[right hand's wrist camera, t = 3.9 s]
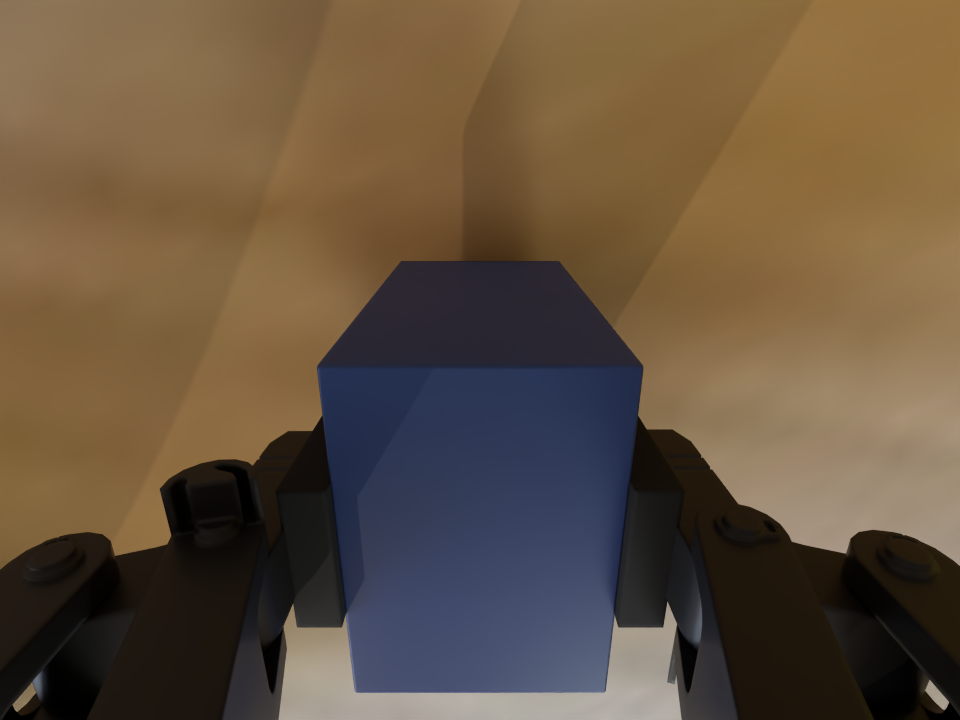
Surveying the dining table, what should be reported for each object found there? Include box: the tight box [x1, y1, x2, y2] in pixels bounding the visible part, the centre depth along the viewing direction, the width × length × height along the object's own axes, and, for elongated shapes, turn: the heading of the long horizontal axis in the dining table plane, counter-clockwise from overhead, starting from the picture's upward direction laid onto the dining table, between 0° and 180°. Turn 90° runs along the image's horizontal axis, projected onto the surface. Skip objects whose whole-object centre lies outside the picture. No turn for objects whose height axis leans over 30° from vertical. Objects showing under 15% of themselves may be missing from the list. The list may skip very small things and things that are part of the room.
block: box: [317, 261, 643, 693], centre depth 13 cm, size 6×5×8 cm
